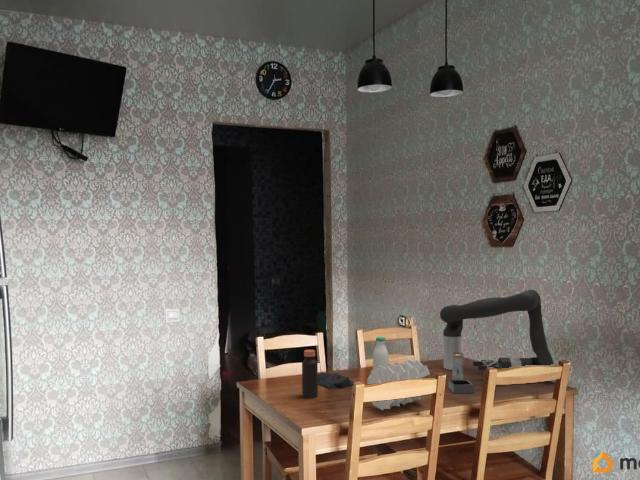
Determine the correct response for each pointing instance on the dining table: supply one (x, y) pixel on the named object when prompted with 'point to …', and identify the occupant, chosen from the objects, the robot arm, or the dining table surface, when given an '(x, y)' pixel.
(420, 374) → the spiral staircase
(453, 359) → the grey cylinder
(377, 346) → the milk bottle
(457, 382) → the socket
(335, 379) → the dark slate chunk
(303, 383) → the vinegar
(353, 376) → the dining table surface
